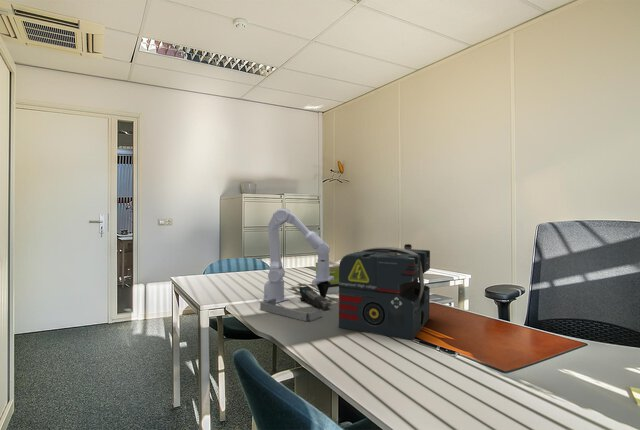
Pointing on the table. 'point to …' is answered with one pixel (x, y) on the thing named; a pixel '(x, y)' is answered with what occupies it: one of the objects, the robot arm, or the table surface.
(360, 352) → the table surface
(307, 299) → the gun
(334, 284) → the tea box
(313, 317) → the slate box
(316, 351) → the table surface
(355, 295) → the power unit
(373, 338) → the table surface
